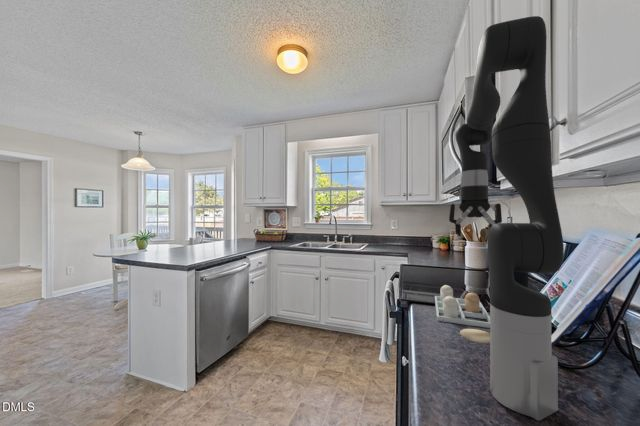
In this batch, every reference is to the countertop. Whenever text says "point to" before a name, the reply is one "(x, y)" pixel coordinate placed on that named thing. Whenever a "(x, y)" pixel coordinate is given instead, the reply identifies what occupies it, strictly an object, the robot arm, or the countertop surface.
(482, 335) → the birch coaster
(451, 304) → the cream egg
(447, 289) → the cream egg
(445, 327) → the countertop surface
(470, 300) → the brown egg
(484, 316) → the egg carton
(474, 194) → the robot arm
